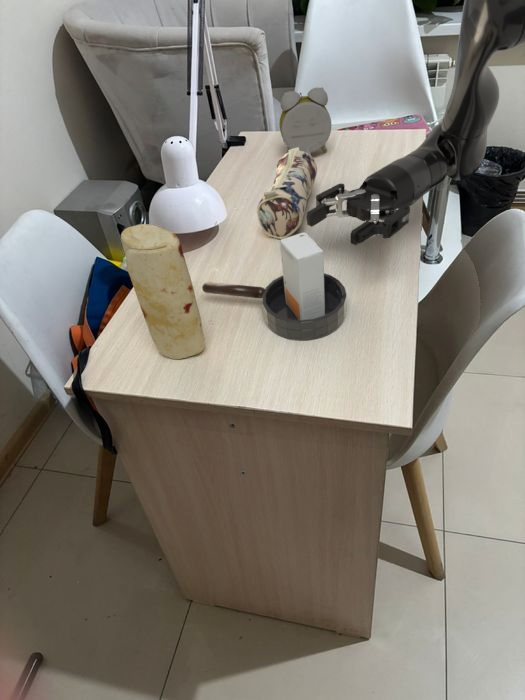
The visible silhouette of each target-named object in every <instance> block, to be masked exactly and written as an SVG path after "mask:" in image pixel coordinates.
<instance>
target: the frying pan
mask: <svg viewBox="0 0 525 700" xmlns="http://www.w3.org/2000/svg"><path fill="white" fill-rule="evenodd" d="M264 289H265V292H264V293H263V294H262V298H261V304H262V305H261V306H262V312H263V313H262V314H263V319H264V321H265V324H266V326H267V327H268V329H269V330H270V331H271V332H272V333H274V334H276V335H277V336H279V337H281V338H283V339H286V340H287V339H288V340H292V341H299V342H300V341H302V342H303V341H305V342H306V341H314V340H317V339H318V340H319V339H322V338H325V337H327V336H329V335H331V334H333V333H334V332H336V331H337V330H338V329H339V328H340V327H341V326H342V325H343V323H344V322H345V320H346V315H347V296H348V295H347V290H346V287H345V286H344V285H343V283H342V281H340V280H339V279H338V278H336V277H335V276H333V275H331V274H328V273H325V272H324V297H325V316H322V317H318V318H315V319H309V320H298V318H297V317H296V316H295V314H294V313H293V312H292V310H291V309H290V308H289V306H288V305H287V304H286V300H285V289H284V278H283V274H282V275H280V276H279V277H276V278H275V279H273V280H272V281H270V283H269V284H267V285H266V287H265V288H264Z"/></svg>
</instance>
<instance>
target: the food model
mask: <svg viewBox="0 0 525 700" xmlns="http://www.w3.org/2000/svg"><path fill="white" fill-rule="evenodd" d="M120 241H121V245H122V249H123V253H124V256H125V262H126V263H125V265H126V270H127V272H128V275H129V278H130V280H131V283H132V286H133V289H134V293H135V295H136V298H137V301H138V304H139V307H140V310H141V312H142V315H143V317H144V320H145V322H146V326H147V328H148V331H149V334H150V336H151V339H152V342H153V343H154V345H155V347H156V349H157V350H158V351H159V353H161V355H163V356H164V357H166V358H169V359H172V360H182V359H187V358H189V357H193V356H196V355H198V354H200V353H202V352H203V350H204V349H205V348H206V341H205V335H204V331H203V323H202V317H201V314H200V309H199V305H198V301H197V298H196V294H195V293H196V292H195V289H194V285H193V281H192V278H191V275H190V271H189V268H188V264H187V262H186V258H185V255H184V252H183V246H182V243H181V240H180V239H179V237H178V236H177V235H176V234H175V233H173V232H172V231H170V230H168V229H165V228H163V227H160V226H159V225H155V224H149V223H141V224H136V225H131V226H129V227H126V228H124V229H123V231H122V232H121V234H120Z"/></svg>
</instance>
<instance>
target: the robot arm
mask: <svg viewBox="0 0 525 700" xmlns="http://www.w3.org/2000/svg"><path fill="white" fill-rule="evenodd" d="M460 20H461V21H460V26H459V34H458V35H459V36H458V42H457V48H456V49H457V50H456V58H455V68H454V77H453V84H452V90H451V92H450V96H449V99H448V101H447V105H446V108H445V110H444V114H443V117H442V120H441V122H440V123H438V124H436V125H435V126H433V128H432V129H431V130H430V132H429V133H428V135H427V136H426V138H425V139H424V141H423V142H422V143H421V144H420V145H419V146H418V147H417V148H416V149H415V150H413V151H411V152H410V153H408V154H406V155H405V156H403V157H400V158H398V159H395V160H393V161H392V162H390V163H388V164H387V165H385V166H383V167H381V168H380V169H378V170H377V171H374V172H373V173H371V174H370V175H368V176H367V177H366V178H365V179H364V180H363V182H362V183H361V185H360V187H358V188H355V189H352V190H350V191H349V190H348V189H345V183H337V184H336V185H334V186H332V187H330V188H328V189H326V190H324V191H322V192H320V193H318V194H316V195H315V207H313V208H312V209H310V210H309V211H307V212H306V225H307V226H309V227H311V228H312V227H314V226H316V225H318V224H319V223H321V222H323V221H324V220H325V219H327V218H329V217H337V218H339V219H341V218H348V217H351V218H354V219H358V220H359V221H361V222H363V223H361V224H360V225H358V226H356V227H355V228H354V229H352V230H351V232H350V239H349V240H350V241H349V242H350V244H351V245H352V246H357V245H358V244H362V243H364V242H366V241H367V240H369V239H370V238H371V237H377V236H379V235H380V236H382V238H383V239H387V240H388V239H391V238H392V237H394V235H395V234H397V233H398V232H400V230H401V229H403V228H404V227H405V226H407V225H408V224H409V222H410V214H411V206H412V205H414V204H415V203H417V202H418V201H419V200H420V199H422V197H424V196H425V195H426V194H428V193H429V192H430V191H432V190H434V189H435V188H436V187H438V186H440V184H442V183H443V181H445V179H446V177H448V178H450V179H452V180H453V181H465V180H467V179H469V178H471V177H472V176H474V175H475V174H476V172H477V171H478V170H479V169H480V167H481V166H482V165H483V162H484V159H485V156H486V154H487V153H486V152H487V147H488V144H487V143H488V139H487V138H488V127H489V126H490V124H491V122H492V119H493V118H494V116H495V113H496V112H497V111H496V110H497V108H498V105H499V101H500V88H499V87H500V86H499V83H498V81H497V78H496V77H495V75H494V73H493V72H492V70H491V69H490V67H489V65H488V63H489V61H490V59H491V58H492V57H493V55H495V53H497V52H503V51H508V50H511V49H514V48H517V47H521V46H523V45H525V0H464V1H463V7H462V12H461V19H460ZM345 201H346V204H345V205H346V209H343V203H344V202H345ZM333 206H335V208H333V209H330V208H332V207H333ZM380 220H382V221H380Z"/></svg>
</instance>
